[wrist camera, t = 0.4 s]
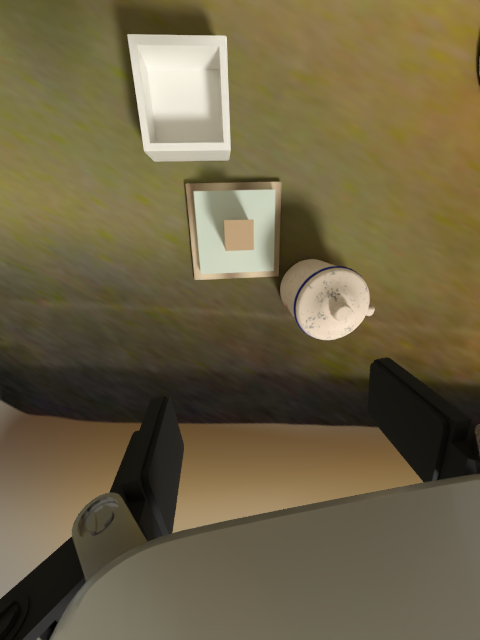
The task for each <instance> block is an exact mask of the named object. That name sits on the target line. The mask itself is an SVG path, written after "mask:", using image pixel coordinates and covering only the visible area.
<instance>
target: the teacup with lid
mask: <svg viewBox="0 0 480 640" xmlns="http://www.w3.org/2000/svg"><path fill="white" fill-rule="evenodd" d="M280 295H281V299H282V302H283V304H284V305H285V307H286V308H287V309H288V310H289V312H290V313H291V314H292V315H293V317H294V318H295V320H296V322H297V324H298V326H299V327H300V328H301V330H302V331H303V332H305V333H306V334H307V335H309V336H311V337H314V338H317V339H322V340H332V339H337V338H340V337H343V336H345V335H347V334H349V333H350V332H352V331H353V330H354V329H356V328H357V327H358V326H359V324H360V323H361V322H362V321H363V319H364V317H365V316H370V315H372V314H373V312H374V310H375V308H374V307H373V306H372V305H370V304H369V301H370V296H369V290H368V287H367V285H366V283H365V281H364V279H363V278H362V277H361V276H360V275H359V274H358V273H357V272H355V271H354V270H352V269H350V268H347V267H342V266H335V265H332V264H329V263H326V262H323V261H321V260H317V259H307V260H303V261H300V262H298V263H296V264H295V265H293V266H292V267H291V268H290V269H289V270H288V271H287V272H286V274H285V275H284V277H283V279H282V282H281V286H280Z"/></svg>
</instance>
